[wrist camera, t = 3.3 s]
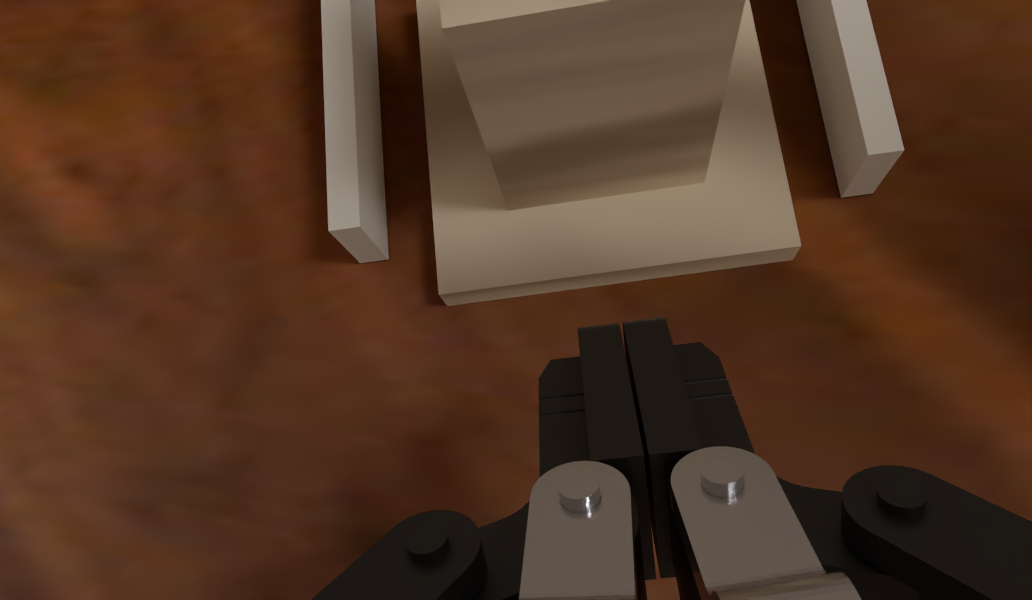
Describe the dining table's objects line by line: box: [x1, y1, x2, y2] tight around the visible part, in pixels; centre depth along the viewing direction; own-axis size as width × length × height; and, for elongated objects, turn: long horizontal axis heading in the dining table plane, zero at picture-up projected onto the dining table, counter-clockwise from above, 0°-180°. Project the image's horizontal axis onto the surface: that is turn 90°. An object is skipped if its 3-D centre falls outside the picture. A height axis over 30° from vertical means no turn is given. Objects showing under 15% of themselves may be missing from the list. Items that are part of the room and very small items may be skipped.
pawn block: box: [416, 0, 801, 306], centre depth 18 cm, size 9×9×9 cm
